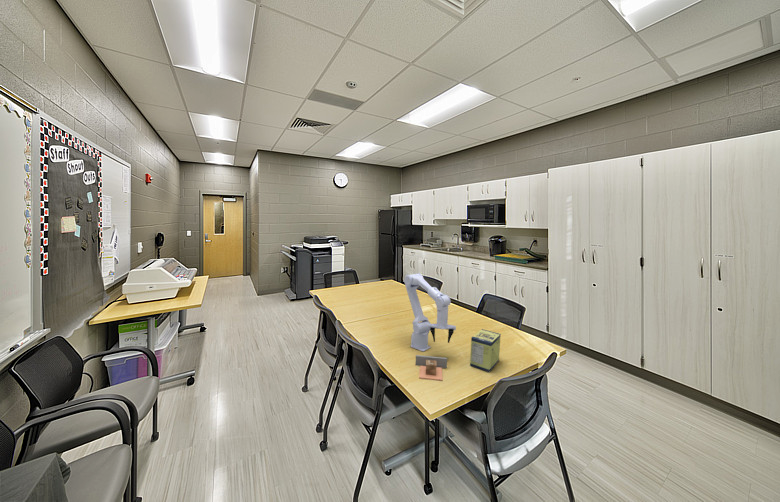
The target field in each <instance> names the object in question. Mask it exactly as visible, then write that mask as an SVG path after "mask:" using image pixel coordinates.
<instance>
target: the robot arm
mask: <svg viewBox="0 0 780 502" xmlns="http://www.w3.org/2000/svg"><path fill="white" fill-rule="evenodd" d="M403 282H404V284H405V285H404V286H405V289H406V292H407V295H408V300H409V303H410V305H411V309H412V312H413V316H414V319H413V321H412V329H413V332H412V333H411V337H410V339H411V340H410V341H411V343H410V347H411V348H412V349H416V350H418V351H421V352H425V351H426V350H429V349H431V348H432V347H431V346H430V345H428V344H429V333H431V335H432V339H433V342H434V343H436V329H439V330H448V331H447V333H448V335H447V344H450V340H451V338H452V336H453V334H454V332H455V331H457V330H456V329H457V328H456V327H457V326H456V325H453V324H448V320H449V318H448V317H449V305H451V304H452V301H451V298H450V296H449V295H448V294H444V293H443V292H441V291H440V290H439V289H438V288H437V287H436V286H433V287H432V286H431V285H430V284H429V283H428V282H427V280H425V279H424V276H423V275H422V274H421V273H413V274H406V275H405V276H404V279H403ZM419 286H420V287H421V288H422V289H423V290H424V291H426V292H427V295H428V297H430V298H431V299H432V300H433V301H434V303H435V306H436V310H437V311H436V314H437V315H436V323H431V322H430V321H429V318H428V317H427V316H426V315H424V312H423V308H422V306H421V302H420V299H419V296H418V292H417V289H418V288H419Z"/></svg>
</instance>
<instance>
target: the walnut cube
mask: <svg viewBox="0 0 780 502" xmlns="http://www.w3.org/2000/svg"><path fill="white" fill-rule="evenodd" d="M426 375H436V361H435V360H426Z"/></svg>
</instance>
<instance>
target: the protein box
mask: <svg viewBox="0 0 780 502" xmlns="http://www.w3.org/2000/svg"><path fill="white" fill-rule="evenodd" d="M500 347H501V333H499V332H494V331H492V330H491V331H490V330H487V329H483V328H482V329H480V330H479V331H478V332H477V333H475V334H474V335H473V336H471V340H470V356H469V357H470V358H469V366H470V367H473V368H476V369H478V370H482V371H484V372H487V373H490V372H491V371H492V370H493V369H494V368H495V366H496V365H497V364H498V363H499V362H500V350H501V349H500Z"/></svg>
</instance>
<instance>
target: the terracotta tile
mask: <svg viewBox="0 0 780 502" xmlns="http://www.w3.org/2000/svg"><path fill="white" fill-rule="evenodd" d="M418 376H419V377H418V379H422V380H431V381H441V382H443V368H441V367H436V375H426V366H419V375H418Z"/></svg>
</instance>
